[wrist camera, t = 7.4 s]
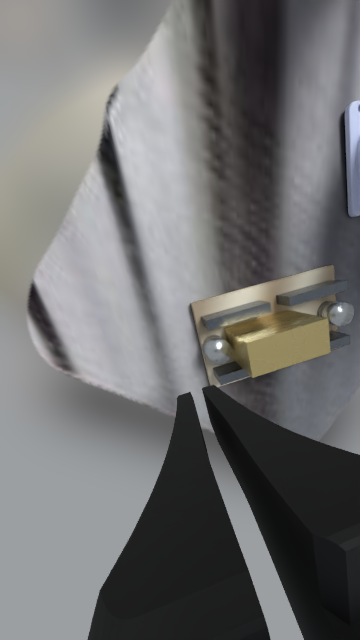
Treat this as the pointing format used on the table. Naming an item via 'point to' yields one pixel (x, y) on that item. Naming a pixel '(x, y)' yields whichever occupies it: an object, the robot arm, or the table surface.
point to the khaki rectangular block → (278, 341)
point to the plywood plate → (264, 294)
